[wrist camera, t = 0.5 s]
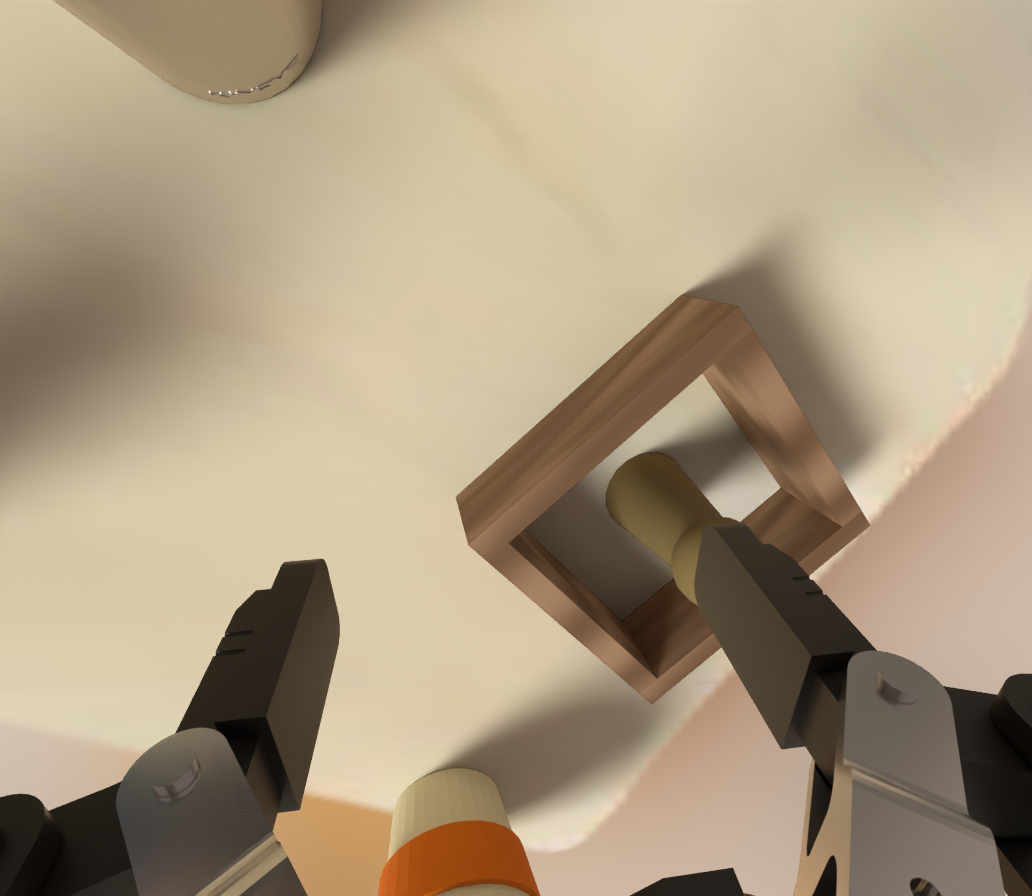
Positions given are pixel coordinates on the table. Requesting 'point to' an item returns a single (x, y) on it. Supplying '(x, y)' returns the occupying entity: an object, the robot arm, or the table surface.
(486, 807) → the reusable coffee cup
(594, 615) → the walnut crate
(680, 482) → the olive pawn
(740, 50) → the table surface
